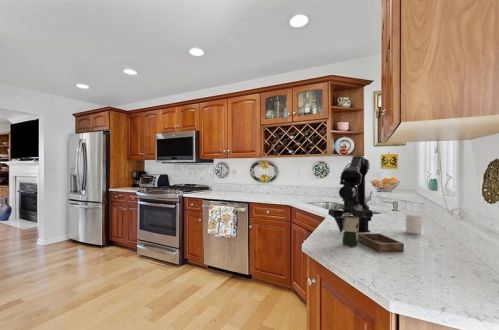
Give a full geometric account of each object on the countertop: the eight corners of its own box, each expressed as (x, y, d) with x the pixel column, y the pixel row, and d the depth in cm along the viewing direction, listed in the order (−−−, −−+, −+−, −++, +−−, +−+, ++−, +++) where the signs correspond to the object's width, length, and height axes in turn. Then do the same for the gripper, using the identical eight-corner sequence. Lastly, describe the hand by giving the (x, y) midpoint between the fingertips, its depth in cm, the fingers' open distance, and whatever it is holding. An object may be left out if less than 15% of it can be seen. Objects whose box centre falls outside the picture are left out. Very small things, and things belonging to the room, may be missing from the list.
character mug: (359, 249, 105) (360, 219, 105) (341, 247, 107) (342, 218, 107) (357, 242, 115) (357, 215, 115) (341, 240, 117) (341, 213, 117)
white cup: (401, 230, 139) (401, 213, 139) (412, 230, 141) (413, 213, 141) (413, 234, 132) (414, 216, 132) (425, 234, 134) (425, 215, 134)
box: (379, 240, 119) (379, 233, 119) (403, 251, 104) (403, 243, 104) (357, 240, 118) (357, 233, 118) (378, 252, 102) (378, 243, 102)
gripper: (340, 199, 102) (339, 237, 102) (381, 200, 104) (380, 236, 104) (328, 196, 113) (327, 230, 113) (365, 196, 115) (364, 229, 115)
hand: (350, 231), depth 111 cm, fingers open, 8 cm apart
